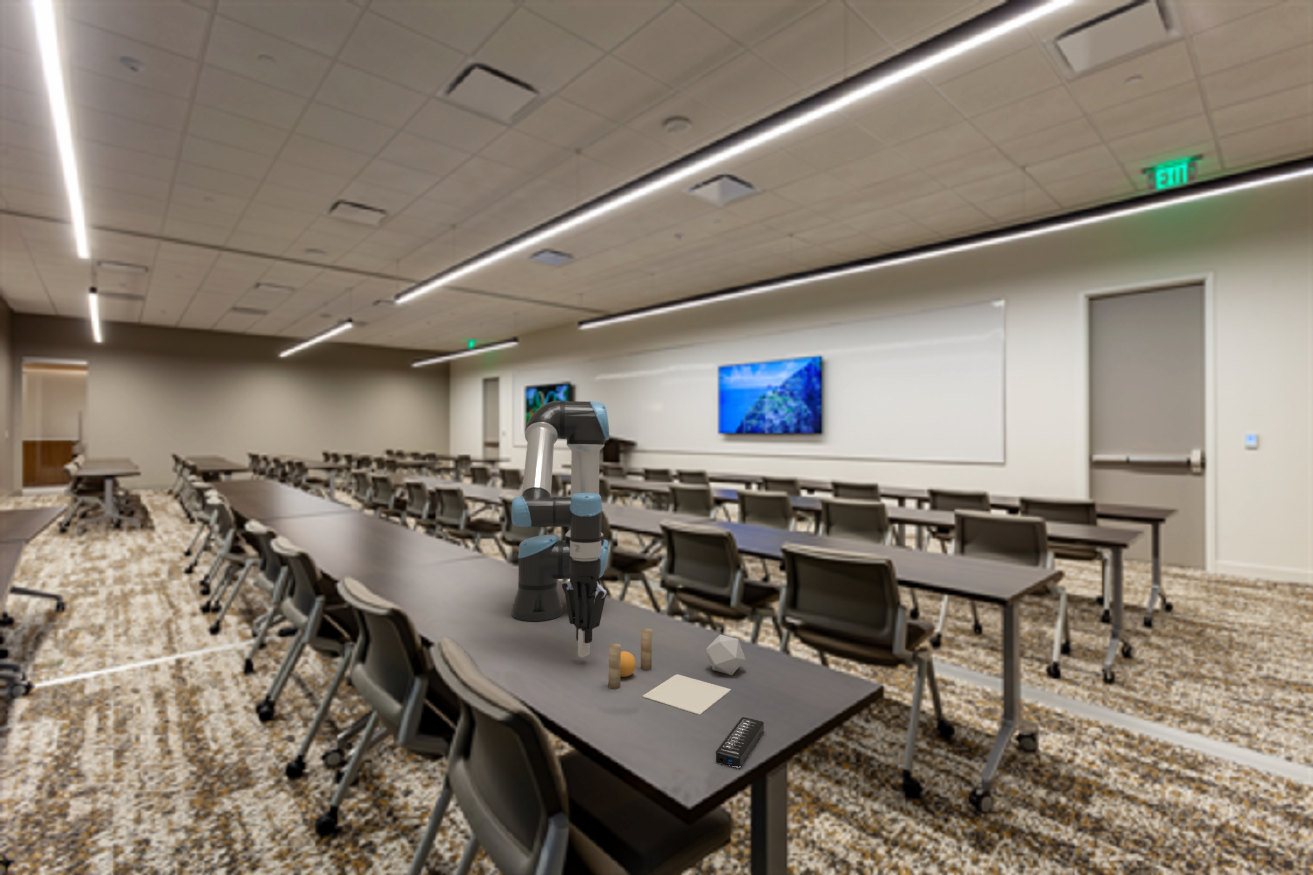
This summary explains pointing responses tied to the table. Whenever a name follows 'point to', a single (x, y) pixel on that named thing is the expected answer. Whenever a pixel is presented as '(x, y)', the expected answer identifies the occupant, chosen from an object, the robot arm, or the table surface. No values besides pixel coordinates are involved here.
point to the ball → (627, 664)
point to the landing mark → (687, 694)
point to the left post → (614, 665)
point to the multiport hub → (740, 742)
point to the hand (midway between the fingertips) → (583, 654)
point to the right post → (646, 649)
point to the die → (725, 654)
